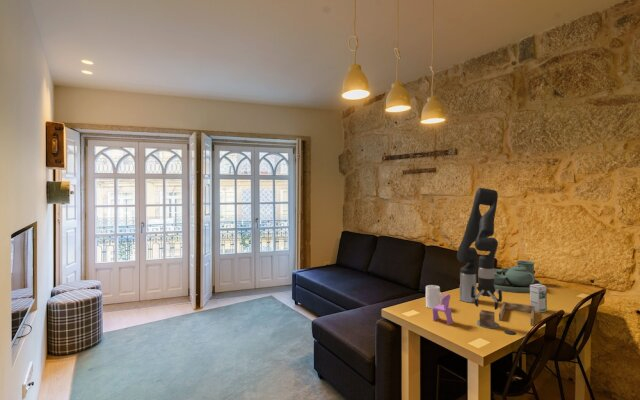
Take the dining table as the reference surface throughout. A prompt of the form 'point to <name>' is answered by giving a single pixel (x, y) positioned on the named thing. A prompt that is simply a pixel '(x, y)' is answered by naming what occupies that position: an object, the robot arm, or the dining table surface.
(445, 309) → the toy chair
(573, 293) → the dining table surface
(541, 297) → the syrup box
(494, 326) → the slate coaster
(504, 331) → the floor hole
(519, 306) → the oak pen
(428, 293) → the mug
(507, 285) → the tea set
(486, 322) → the walnut block
